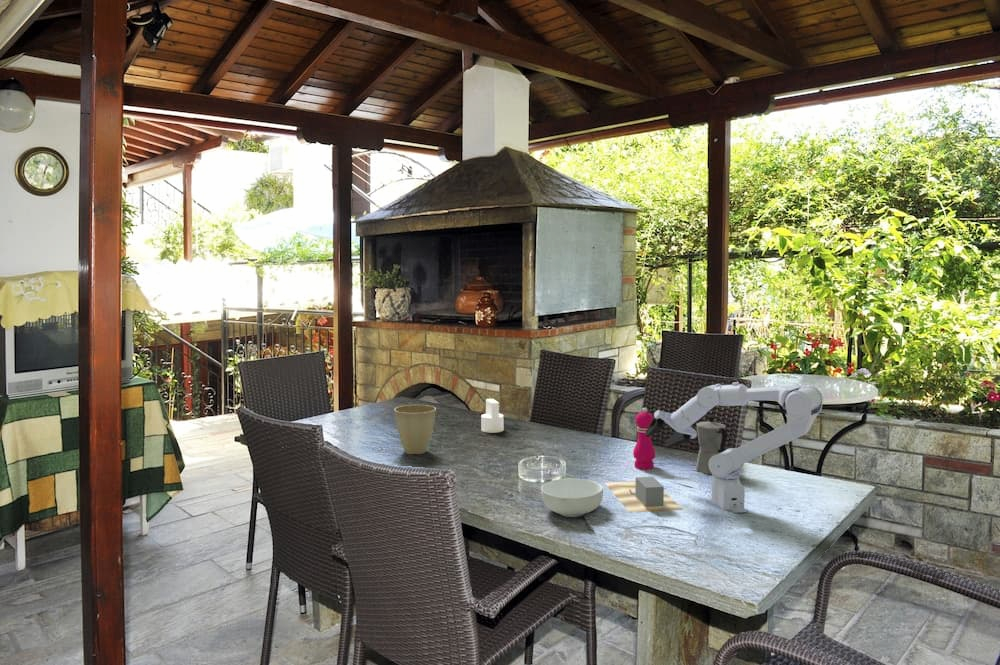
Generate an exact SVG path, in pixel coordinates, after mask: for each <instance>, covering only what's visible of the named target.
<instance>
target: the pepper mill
mask: <svg viewBox="0 0 1000 665" xmlns="http://www.w3.org/2000/svg"><path fill="white" fill-rule="evenodd" d="M653 417H654V415H653V414H652V413H650V412H648V408H647V407H643V408H642V409H641V412H639V413H638V414H636V416H635V424H636V425H637V426H636V431H637V441H636V443H635V446H634V448H633V453H632V455H633V457H634V459H635V460H634V468H635V469H639V470H653V469H654V467H655V464H654V461H653V460H654V459H655V457H656V451H655V450H656V449H655V448H654V445H653V441H652V435H651V436H649V437H647V436H646V432H645V431H646V430H647V429H648V427H649V426H650V424H651V422H652V420H653Z"/></svg>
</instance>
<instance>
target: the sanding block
mask: <svg viewBox="0 0 1000 665" xmlns="http://www.w3.org/2000/svg"><path fill="white" fill-rule="evenodd" d="M635 481H636V488H635V498H636V499H637V500H638V501H639V502H640V504H641V505H642V506H643V507H644V508H645V509H658V508H663V503H664V492H665V491H664V490H665V489H664V488H665V487H664V485H663V484H662V483H660V482H659V481H658V479H656V478H655V477H654V476H637V477H635Z"/></svg>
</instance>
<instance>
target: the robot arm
mask: <svg viewBox="0 0 1000 665" xmlns="http://www.w3.org/2000/svg"><path fill="white" fill-rule="evenodd" d="M823 398H824V397H823V395H822V393H821V391H820V390H819V389H818V388H817V387H814V386H810V385H806V386H804V387H803V386H802V385H777V386H765V387H763V386H762V387H755V388H752V387H751V388H749V387H748V386H746V385H745V384H743V383H742V384H741V383H740V382H739V381H736V382H735V381H734V382H732V384H722V383H716V384H711V385H707V386H704V387H702V388H701V389H699V390H698V391H697V394H696V395H695V396H693V397H692V398H690V399H689V400H688V401H686V403H685V404H683V405H682V406H680V407H679V408H678V409H677V410H675V411H673V412H672V413H671V412H667V411H662V410H660V409H657V410H656V411H655V412H654V414H653V420H652V422H651V424H650V426H649V427H648V429H647V430H646V431H645V432H646V436H647V437H649V436H651V437H652V435H654V434H655V433H656V432H658V431H662V430H664V427H663V425H664V424H667V425H668V426H670V427H671V428H672V429H673V430H674V431H675V432H674V433H673V434H672V435H671V436H669V438H667V439H666V440H665V447H666V448H667V449H668V448H671V447H674V446H676V445H680V444H688V443H690V439H692V440H693V439H695V438H696V437H698V432H697V429H694V428H693V427H692V425H693V424H695V423H696V422H697V421H698V420H700V419H702V417H704V416H705V415H706V414H707V413H708V412H709V411H710V410H712V409H713V408H714V407H716V406H720V407H721V406H722V407H735V406H741V407H742V406H746V405H747V404H748V402H749V401H776V402H777V403H778V404H779V405H780V406H781V407H785V410H786V416H787V417H786V418H787V419H786V423H785V424H783V425H781V426H778V427H777V428H775V429H773V430H770V431H769V432H767V433H764V434H763V435H760V436H758V437H756V438H754V439H752V440H749V441H748V442H746V443H744V444H743V445H741V446H738V447H736V448H735V447H734V448H733V447H732V448H731V447H729V448H726V449H725V450H723V452H721V453H719V454H716V455H713V456H712V457H711V458H710V459H709V462H708V466H709V469H710V471H711V473H712V474H711V503H712V504H713V505H716V506H717V507H719V508H720V509H721V510H724V511H727V510H729V511H730V510H731V511H732V512H733V513H735V514H736V513H737V514H738V513H747V512H748V510H747V509H746V508H745V496H746V495H745V491H746V490H745V488H744V486H743V484H742V483H741V481H740V470H741V469H742V467H743V466H744V465H745V464H746V463H748V462H750V461H753V460H754V459H756V458H759V457H760V456H762V455H765V454H767V453H769V452H771V451H773V450H775V449H777V448H780V447H782V446H784V445H786V444H788V443H789V442H792V441H795V440H797V439H799V438H800V437H803V436H805V435H806V434H807V433H808V432H809V431H810V430H811V428H812V425H813V424H814V423H815V420H816V419H817V416H819V414H820V412H821V411H822V409H823Z"/></svg>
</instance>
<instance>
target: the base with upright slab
mask: <svg viewBox="0 0 1000 665" xmlns="http://www.w3.org/2000/svg"><path fill="white" fill-rule="evenodd" d="M504 418H505V417H504V414H502V413H500V402H499V401H497V400H496V399H494V398H486V399H485V413H484V414H481V416H480V419H481V421H480V422H481V424H480V425H481V426H480V427H481V428H480V429H481V432H483V433H490V434H491V433H493V434H494V433H496V434H497V433H501V432H503V431H504V429H505V427H504V421H505V420H504Z"/></svg>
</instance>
